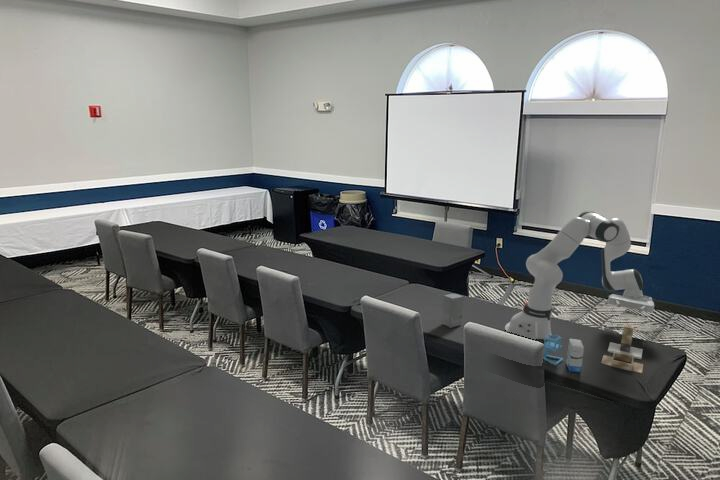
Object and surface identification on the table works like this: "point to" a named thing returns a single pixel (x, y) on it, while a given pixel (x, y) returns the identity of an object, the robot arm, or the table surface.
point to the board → (633, 352)
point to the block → (627, 337)
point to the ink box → (575, 355)
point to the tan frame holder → (622, 365)
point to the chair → (552, 348)
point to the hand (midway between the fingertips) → (629, 308)
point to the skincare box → (452, 310)
